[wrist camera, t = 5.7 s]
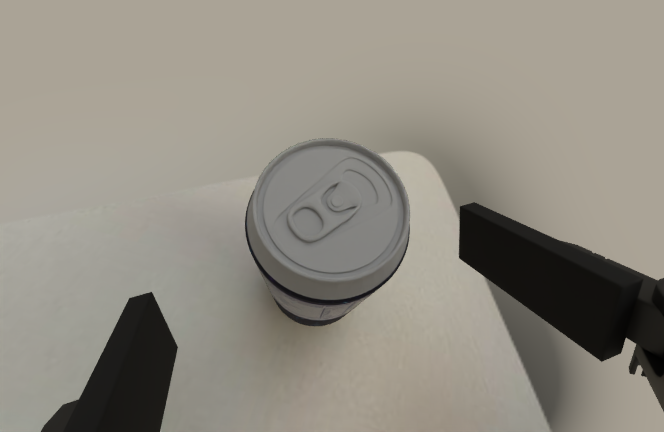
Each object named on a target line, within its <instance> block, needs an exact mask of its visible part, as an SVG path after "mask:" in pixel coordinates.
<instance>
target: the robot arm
mask: <svg viewBox="0 0 664 432" xmlns="http://www.w3.org/2000/svg"><path fill="white" fill-rule="evenodd" d="M459 258H460V259H461V260H462V261H464V262H465V263H467V264H468V265H469V266H471V267H472V268H473V269H475V270H476V271H478V272H479V273H480V274H482V275H483V276H484V277H486V278H487V279H489V280H490V281H491V282H493V283H494V284H496V285H497V286H498V287H500V288H501V289H502V290H504V291H505V292H507V293H508V294H509V295H511V296H512V297H514V298H515V299H516V300H518V301H519V302H520V303H522V304H523V305H524V306H526V307H527V308H529V309H530V310H531V311H533V312H534V313H535V314H537V315H538V316H540V317H541V318H542V319H544V320H545V321H547V322H548V323H549V324H551V325H552V326H553V327H555V328H556V329H558V330H559V331H560V332H562V333H563V334H565V335H566V336H567V337H568V338H570V339H571V340H573V341H574V342H575V343H577V344H578V345H579V346H581V347H582V348H584V349H585V350H586V351H588V352H589V353H590V354H592V355H593V356H595V357H596V358H598V359H599V360H600V361H604V360H606V359H609V358H611V357H613V356H616V355H618V354H620V353H621V352H622V348H623V345H624V342H625V338H628V339H630V340H631V341H633V342H634V343H636V347H635V350H634V354H633V356H632V360H631V363H630V366H629V372H630V374H635V372H636V369H637V366H638V365H641V367H642V368H643V371H642V374H641V375H642V376H645V377H647V379H648V381H649V383H650V385H651V387H652V389H653V391H654V393H655V395H656V397H657V399H658V401H659V403H660V405H661V407H662V409H663V411H664V278H663V279H660V280H659V281H658V280H655V279H653V278H651V277H648V276H646V275H644V274H642V273H639V272H637V271H635V270H632V269H630V268H628V267H626V266H623V265H621V264H619V263H616V262H614V261H612V260H610V259H605V257H603V256H601V255H598V254H596V253H594V254H593V253H592V251H589V250H587V249H585V248H583V247H580V246H578V245H575V244H571V243H567V242H563V241H559V240H557V239H554V238H552V237H550V236H548V235H545V234H543V233H541V232H539V231H537V230H534V229H532V228H530V227H528V226H526V225H523V224H521V223H519V222H517V221H514V220H512V219H510V218H508V217H506V216H503V215H501V214H499V213H497V212H494V211H492V210H490V209H488V208H486V207H483V206H481V205H479V204H477V203H471V204H467V205H464V206H460V235H459ZM177 348H178V347H177V344H176V342H175V340H174V338H173V336H172V334H171V332H170V330H169V327H168V325H167V323H166V321H165V319H164V317H163V315H162V312H161V310H160V308H159V306H158V304H157V302H156V300H155V297H154V295H153V293H152V292H150V293H146V294H143V295H139V296H136V297H132V298H129V300H128V302H127V304H126V306H125V308H124V310H123V312H122V314H121V316H120V318H119V320H118V322H117V324H116V326H115V328H114V330H113V332H112V334H111V336H110V338H109V340H108V342H107V344H106V346H105V348H104V350H103V352H102V354H101V356H100V358H99V360H98V362H97V364H96V366H95V368H94V370H93V372H92V374H91V376H90V378H89V380H88V382H87V385H86V387H85V389H84V391H83V393H82V395H81V397H80V399H79V400H76V401H73V402H70V403H67V404H64V405H62V406H61V408H60V409H59V410H58V411H57V412H56V413H55V414H54V415H53V416H52V418H51V419H50V420H49V421H48V422H47V423H46V424H45V425H44V427H43V429H42V430H41V432H160V429H161V424H162V419H163V414H164V410H165V405H166V400H167V396H168V391H169V386H170V381H171V377H172V372H173V367H174V363H175V358H176V353H177Z"/></svg>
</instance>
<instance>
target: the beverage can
mask: <svg viewBox="0 0 664 432" xmlns="http://www.w3.org/2000/svg"><path fill="white" fill-rule="evenodd" d="M409 221H410V206H409V200H408V195H407V193H406V190H405V187H404V185H403V183H402V181H401V179H400V177H399V175H398V174H397V173H396V172H395V170H394V169H393V168H392V166H391V165H390V164H389V163H388V162H387V161H386V160H385V159H383V158H382V157H381V156H379V155H378V154H377V153H375V152H374V151H372V150H370V149H368V148H367V147H365V146H362V145H360V144H357V143H354V142H351V141H347V140H342V139H333V138H326V139H325V138H324V139H323V138H322V139H314V140H309V141H305V142H302V143H299V144H296V145H294V146H292V147H290V148H288V149H286V150H285V151H283V152H281V153H280V154H279V155H278V156H276V157H275V158H274V159H273V160H272V161H271V162H270V163H269V164H268V166H267V167H266V168H265V169H264V171H263V172H262V174H261V176H260V177H259V179H258V182H257V184H256V187H255V189H254V191H253V193H252V195H251V198H250V200H249V203H248V207H247V211H246V218H245V231H246V238H247V243H248V246H249V249H250V252H251V254H252V256H253V258H254V260H255V262H256V264H257V266H258V268H259V270H260V272H261V274H262V276H263V278H264V280H265V282H266V284H267V286H268V288H269V290H270V292H271V294H272V296H273V298H274V300H275V302H276V304H277V305H278V307H279V308H280V309H281V311H282V312H283V313H284V314H285V315H286V316H288V317H289V318H290V319H292V320H294V321H296V322H298V323H300V324H304V325H308V326H323V325H328V324H331V323H333V322H336V321H338V320H339V319H341V318H342V317H344V316H345V315H346V314H347V313H349V312H350V311H351V310H352V309H354V308H355V307H356V306H357V305H359V304H360V303H361V302H362V301H364V300H365V299H366V298H367V297H369V296H370V295H371V294H372V293H374V292H375V291H376V290H377V289H379V288H380V287H381V286H382V285H384V284H385V283H386V282H387V281H388V280H389V279H390V278H391V277H392V276H393V274H394V273H395V272H396V271H397V269H398V267H399V266H400V264H401V262H402V260H403V258H404V256H405V253H406V250H407V246H408V242H409V232H410V226H409Z"/></svg>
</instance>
